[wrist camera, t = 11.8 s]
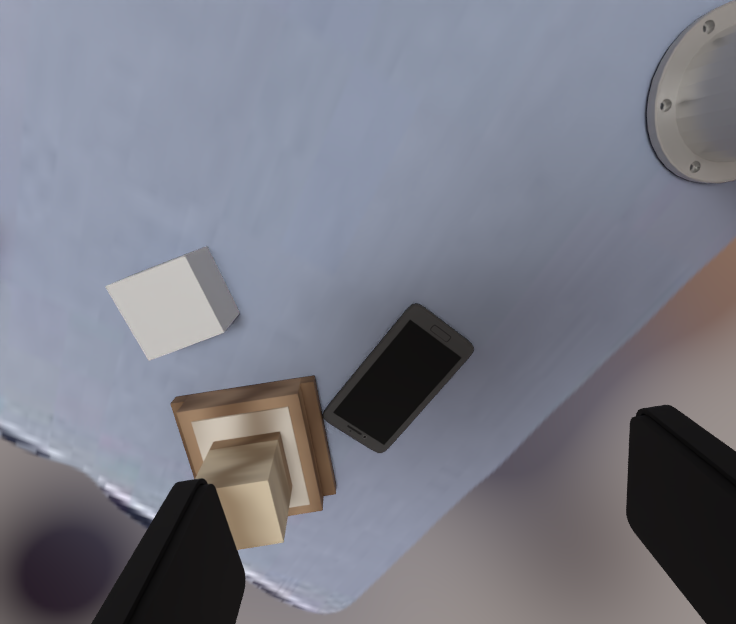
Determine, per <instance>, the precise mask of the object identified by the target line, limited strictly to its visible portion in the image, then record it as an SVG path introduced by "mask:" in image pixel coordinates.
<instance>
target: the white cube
mask: <svg viewBox="0 0 736 624" xmlns="http://www.w3.org/2000/svg"><path fill="white" fill-rule="evenodd" d="M105 287H106V289H107V290H108V292H109V294H110V296H111V297H112V299H113V301H114V302H115V304H116V306H117V307H118V309H119V311H120V313H121V314H122V316H123V318H124V319H125V321H126V323H127V324H128V326H129V328H130V330H131V331H132V333H133V335H134V336H135V338H136V340H137V342H138V343H139V345H140V347H141V348H142V350H143V352H144V353H145V355H146V357H147V359H148V360H149V361H150V360H152V359H155V358H158V357H160V356H163V355H166V354H168V353H171V352H174V351H176V350H179V349H182V348H184V347H187V346H190V345H192V344H195V343H198V342H200V341H203V340H206V339H208V338H211V337H214V336H216V335H219V334H222V333H224V332H225V331H226V330H227V328H228V327H229V326H230V325H231V323H232V322H233V321H234V320H235V319H236V317H237V316H238V315H239V314H240V312H239V310H238V308H237V306H236V304H235V302H234V300H233V298H232V296H231V294H230V291H229V289H228V287H227V285H226V283H225V281H224V279H223V277H222V275H221V273H220V271H219V269H218V267H217V265H216V263H215V261H214V259H213V257H212V255H211V253H210V251H209V249H208V247H207V246H206V247H203V248H201V249H198V250H196V251H193V252H190V253H188V254H185V255H183V256H180V257H177V258H175V259H172V260H170V261H167V262H164V263H162V264H159V265H157V266H154V267H151V268H149V269H146V270H144V271H141V272H138V273H136V274H134V275H131V276H129V277H127V278H124V279H122V280H119V281H117V282H115V283H112V284H110V285H108V286H105Z"/></svg>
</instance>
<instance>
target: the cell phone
mask: <svg viewBox="0 0 736 624" xmlns="http://www.w3.org/2000/svg"><path fill="white" fill-rule="evenodd" d="M473 351H474V347H473V345H472V344H471V343H470V342H469V341H468V340H467V339H466V338H465V337H463V336H462V335H461V334H459V333H458V332H457V331H455V330H454V329H453V328H451V327H450V326H449V325H447V324H446V323H445V322H443V321H442V320H441V319H439V318H438V317H437V316H436V315H434V314H433V313H432V312H430V311H429V310H428V309H426V308H425V307H424V306H422V305H420V304H416V303H414V304H412V305H411V306H410V307H409V308H408V309H407V310H406V311H405V312H404V313H403V314H402V316H401V317H400V318H399V319H398V320H397V322H396V323H395V324H394V325H393V327H392V328H391V329H390V330H389V331H388V333H387V334H386V335H385V336H384V337H383V339H382V340H381V341H380V342H379V344H378V345H377V346H376V347H375V348H374V350H373V351H372V352H371V353H370V355H369V356H368V357H367V358H366V359H365V361H364V362H363V363H362V364H361V365H360V367H359V368H358V369H357V370H356V372H355V373H354V374H353V375H352V376H351V378H350V379H349V380H348V381H347V382H346V384H345V385H344V386H343V387H342V389H341V390H340V391H339V392H338V393H337V395H336V396H335V397H334V398H333V400H332V401H331V402H330V403H329V405H328V406H327V407H326V409H325V410H324V412H323V418H324V419H325V420H326V421H327V422H328V423H330V424H331V425H333V426H334V427H336V428H337V429H339V430H341V431H342V432H344V433H345V434H347V435H349V436H350V437H352V438H353V439H355V440H357V441H358V442H360V443H361V444H363V445H365V446H366V447H368V448H369V449H371V450H373V451H375V452H377V453H382V452H385V451H386V450H387V449H388V448H389V447H390V446H391V445H392V444H393V443H394V442H395V441H396V439H397V438H398V437H399V436H400V435H401V434H402V433H403V432H404V430H405V429H406V428H407V427H408V426H409V425H410V424H411V422H412V421H413V420H414V419H415V418H416V417H417V416H418V415H419V413H420V412H421V411H422V410H423V409H424V408H425V407H426V406H427V404H428V403H429V402H430V401H431V400H432V399H433V398H434V397H435V395H436V394H437V393H438V392H439V391H440V390H441V389H442V388H443V386H444V385H445V384H446V383H447V382H448V381H449V380H450V379H451V377H452V376H453V375H454V374H455V373H456V372H457V371H458V370H459V368H460V367H461V366H462V365H463V364H464V363H465V362H466V360H467V359H468V358H469V357H470V356H471V354H472V353H473Z"/></svg>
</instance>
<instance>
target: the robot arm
mask: <svg viewBox="0 0 736 624" xmlns="http://www.w3.org/2000/svg"><path fill="white" fill-rule="evenodd" d="M647 124H648V132H649V136H650V140H651V143H652V146H653V148H654V150H655V152H656V154H657V156H658V158H659V159H660V160H661V161H662V162H663V164H664V165H665V166H666V167H667V168H668V169H669V170H671V171H672V172H673V173H675V174H676V175H677V176H679V177H682V178H684V179H686V180H689V181H693V182H699V183H722V182H729V181H734V180H736V0H734V1H731V2H729V3H726V4H724V5H722V6H720V7H717V8H715V9H713V10H711V11H710V12H708V13H706V14H705V15H703V16H701V17H699V18H698V19H697V20H695V21H694V22H693V23H692V24H691V25H690V26H688V27H687V28H686V29H685V30H684V31H683V32H682V33H681V34H680V35H679V36H678V38H677V39H676V40H675V41H674V42H673V43H672V45H671V46H670V47H669V49H668V51H667V52H666V54H665V55H664V57H663V59H662V60H661V62H660V64H659V67H658V69H657V71H656V73H655V76H654V78H653V81H652V85H651V89H650V93H649V97H648V106H647ZM626 515H627V519H628V522H629V524H630V526H631V528H632V529H633V531H634V533H635V534H636V535H637V536H638V538H639V539H640V540H641V541H642V543H643V544H644V545H645V547H646V548H647V549H648V550H649V552H650V553H651V554H652V555H653V557H654V558H655V559H656V560H657V562H658V563H659V564H660V565H661V567H662V568H663V569H664V571H665V572H666V573H667V574H668V576H669V577H670V578H671V579H672V581H673V582H674V583H675V585H676V586H677V587H678V588H679V590H680V591H681V592H682V593H683V595H684V596H685V597H686V598H687V600H688V601H689V602H690V604H691V605H692V606H693V607H694V609H695V610H696V611H697V612H698V614H699V615H700V616H701V617H702V619H703V620H704V621H705V623H706V624H736V451H734V450H733V449H732V448H730V447H729V446H727V445H726V444H725V443H723V442H721V441H720V440H719V439H718V438H716V437H715V436H713V435H712V434H710V433H709V432H708V431H706V430H705V429H704V428H702V427H701V426H699V425H698V424H697V423H695V422H694V421H692V420H691V419H690V418H688V417H687V416H685V415H684V414H683V413H681V412H680V411H678V410H677V409H676V408H674V407H672V406H670V405H662V406H655V407H649V408H643V409H640V410H638V412H637V413H636V417H633V418H632V419H631V421H630V435H629V458H628V483H627V505H626ZM244 589H245V571H244V568H243V565H242V562H241V559H240V557H239V554H238V551H237V548H236V545H235V542H234V539H233V536H232V533H231V531H230V528H229V525H228V522H227V519H226V516H225V513H224V510H223V508H222V505H221V502H220V499H219V496H218V493H217V490H216V488H215V486H214V485H213V484H208V483H207V481H206V480H205V479H203V478H200V479H194V480H187V481H181V482H177V483H175V485H174V486H173V487H172V489H171V491H170V492H169V494H168V496H167V497H166V499H165V501H164V502H163V504H162V506H161V507H160V509H159V511H158V512H157V514H156V516H155V517H154V519H153V521H152V523H151V524H150V526H149V528H148V529H147V531H146V533H145V534H144V536H143V538H142V539H141V541H140V543H139V544H138V546H137V548H136V549H135V551H134V553H133V555H132V557H131V558H130V560H129V561H128V563H127V565H126V566H125V568H124V570H123V572H122V573H121V575H120V576H119V578H118V580H117V581H116V583H115V585H114V587H113V588H112V590H111V592H110V593H109V595H108V597H107V598H106V600H105V602H104V604H103V605H102V607H101V609H100V610H99V612H98V614H97V615H96V617H95V619H94V620H93V622H92V624H235V623H236V619H237V616H238V612H239V608H240V604H241V600H242V597H243V593H244Z"/></svg>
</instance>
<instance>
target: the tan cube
mask: <svg viewBox="0 0 736 624" xmlns="http://www.w3.org/2000/svg"><path fill="white" fill-rule="evenodd" d="M200 478H203V479H205V480H206V481H207V483H208V484H213V485H214V486H215V488H216V490H217V493H218V496H219V499H220V502H221V505H222V508H223V510H224V513H225V516H226V519H227V522H228V525H229V528H230V531H231V533H232V536H233V539H234V542H235V545H236V548H237V550H239V549H246V548H252V547H258V546H264V545H271V544H277V543H283V542H284V536H285V530H286V524H287V517H288V511H289V505H290V499H291V492H292V481H291V477H290V473H289V468H288V464H287V460H286V455H285V451H284V447H283V442H282V438H281V434H280V431H279V432H272V433H266V434H259V435H253V436H246V437H240V438H234V439H227V440H221V441H214V442H213V444H212V446H211V448H210V450H209V452H208V454H207V456H206V458H205V460H204V462H203V464H202V466H201V468H200V470H199V472H198V474H197V476H196V478H195V479H200Z"/></svg>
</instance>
